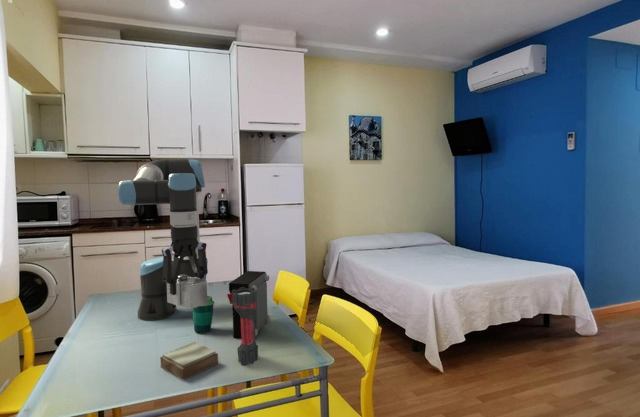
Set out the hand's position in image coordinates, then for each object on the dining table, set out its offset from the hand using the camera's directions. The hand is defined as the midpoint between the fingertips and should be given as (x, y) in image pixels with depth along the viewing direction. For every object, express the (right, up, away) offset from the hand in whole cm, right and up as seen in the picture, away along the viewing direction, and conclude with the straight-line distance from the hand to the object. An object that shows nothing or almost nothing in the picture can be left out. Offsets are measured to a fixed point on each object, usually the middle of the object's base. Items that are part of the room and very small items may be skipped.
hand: (187, 301), depth 114 cm
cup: (-4, -18, +29) cm, 34 cm away
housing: (0, 0, 0) cm, 0 cm away
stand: (0, -20, +2) cm, 20 cm away
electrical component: (+14, -18, +29) cm, 37 cm away
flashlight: (+17, -20, +3) cm, 26 cm away
